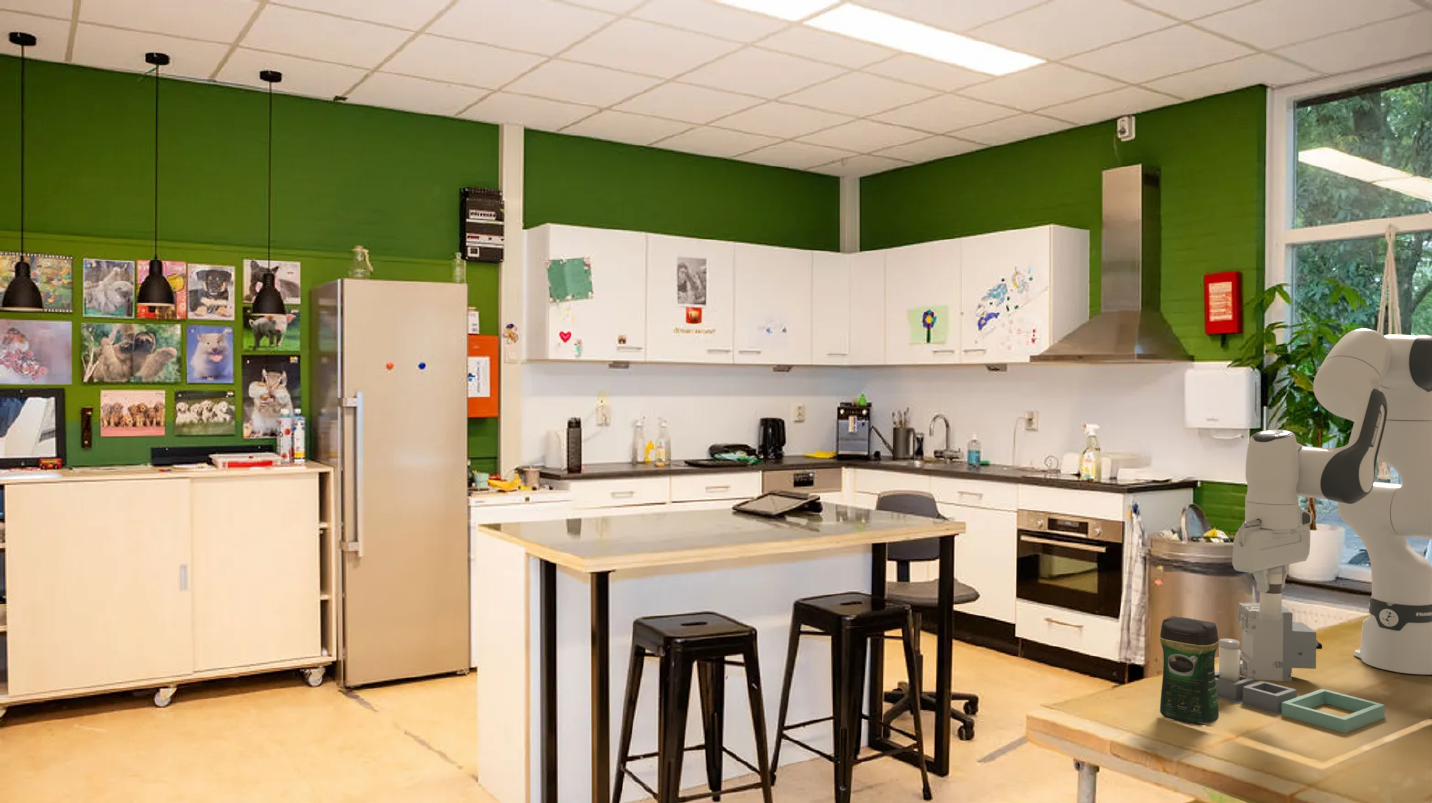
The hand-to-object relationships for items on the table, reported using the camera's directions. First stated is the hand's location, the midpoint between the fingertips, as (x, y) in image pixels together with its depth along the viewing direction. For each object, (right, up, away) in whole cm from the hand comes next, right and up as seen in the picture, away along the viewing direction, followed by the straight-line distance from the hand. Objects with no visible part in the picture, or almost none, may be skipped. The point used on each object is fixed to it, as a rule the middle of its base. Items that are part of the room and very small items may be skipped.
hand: (1270, 590), depth 193 cm
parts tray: (+8, -23, -6) cm, 25 cm away
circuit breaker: (+12, -22, +18) cm, 31 cm away
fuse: (-4, -22, +8) cm, 23 cm away
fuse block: (-2, -23, +4) cm, 23 cm away
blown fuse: (0, -6, 0) cm, 6 cm away
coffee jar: (-17, -23, -4) cm, 29 cm away
